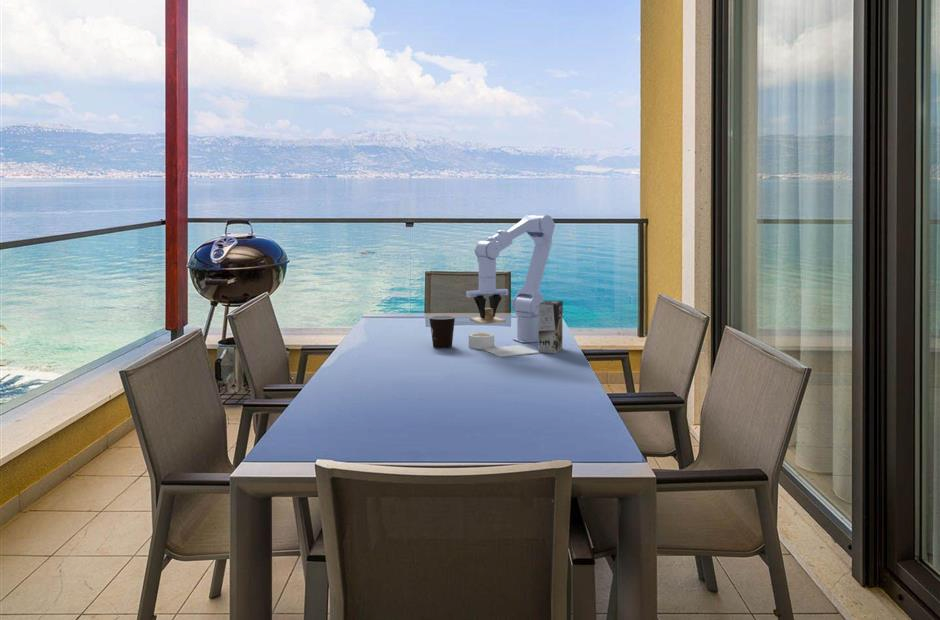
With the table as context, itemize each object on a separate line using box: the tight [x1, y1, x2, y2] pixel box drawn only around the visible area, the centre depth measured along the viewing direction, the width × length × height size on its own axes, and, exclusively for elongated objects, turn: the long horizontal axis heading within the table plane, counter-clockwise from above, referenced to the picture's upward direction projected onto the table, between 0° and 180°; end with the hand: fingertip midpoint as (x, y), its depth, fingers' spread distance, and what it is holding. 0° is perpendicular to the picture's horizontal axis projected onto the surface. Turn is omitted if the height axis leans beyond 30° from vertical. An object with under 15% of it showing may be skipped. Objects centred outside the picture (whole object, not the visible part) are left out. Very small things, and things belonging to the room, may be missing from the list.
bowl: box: [468, 332, 495, 350], centre depth 287 cm, size 8×8×4 cm
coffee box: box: [537, 300, 564, 354], centre depth 279 cm, size 9×6×16 cm
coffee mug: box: [428, 314, 456, 349], centre depth 289 cm, size 12×9×10 cm
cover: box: [469, 307, 506, 325], centre depth 284 cm, size 9×9×4 cm
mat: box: [481, 344, 540, 358], centre depth 279 cm, size 14×14×1 cm
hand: (487, 317), depth 284 cm, fingers closed on cover, 3 cm apart
